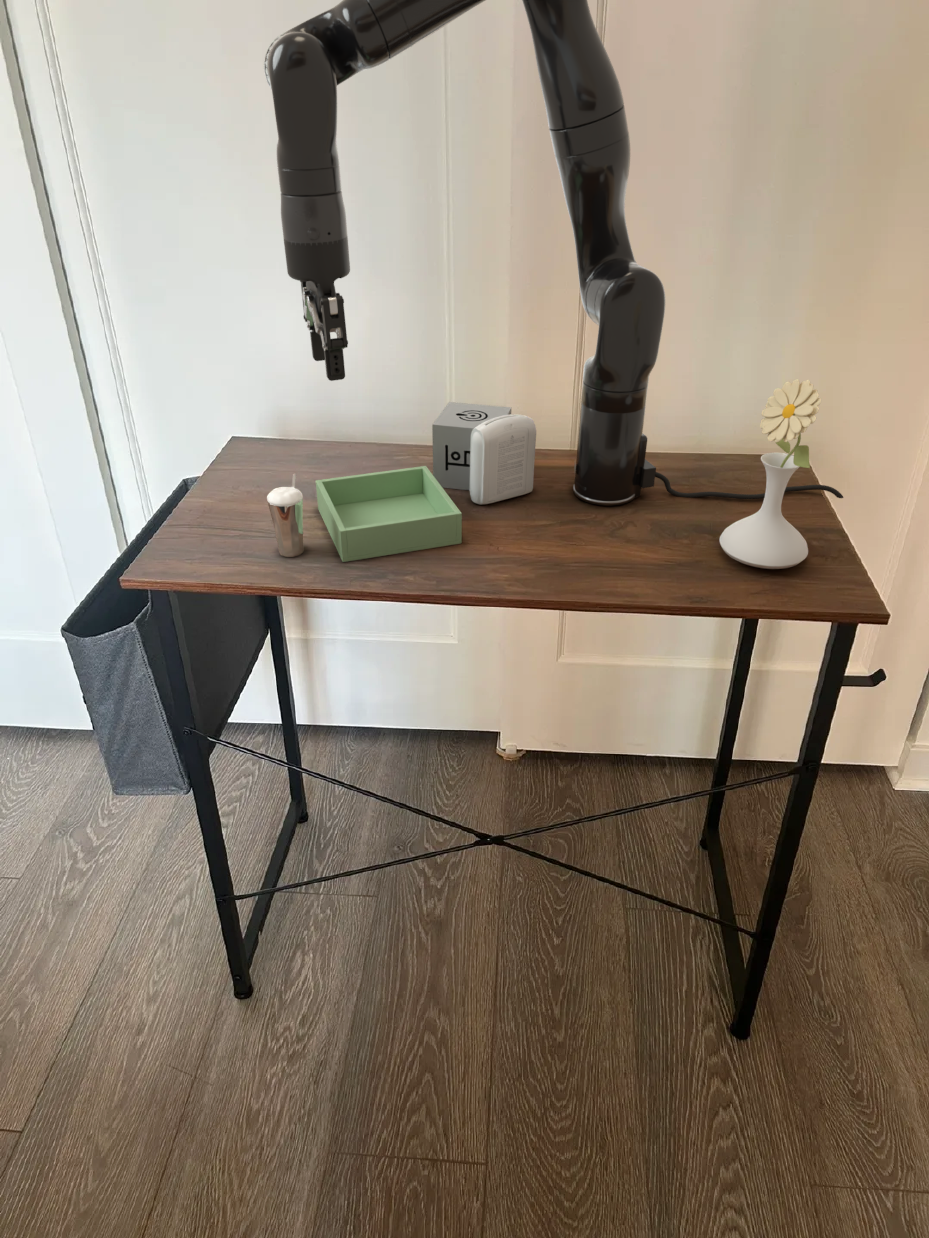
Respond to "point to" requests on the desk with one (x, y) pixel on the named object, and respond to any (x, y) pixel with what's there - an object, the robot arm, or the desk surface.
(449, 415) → the icon cube
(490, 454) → the photo printer
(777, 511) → the flower in vase
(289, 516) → the milkshake
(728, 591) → the desk surface
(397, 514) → the tote
